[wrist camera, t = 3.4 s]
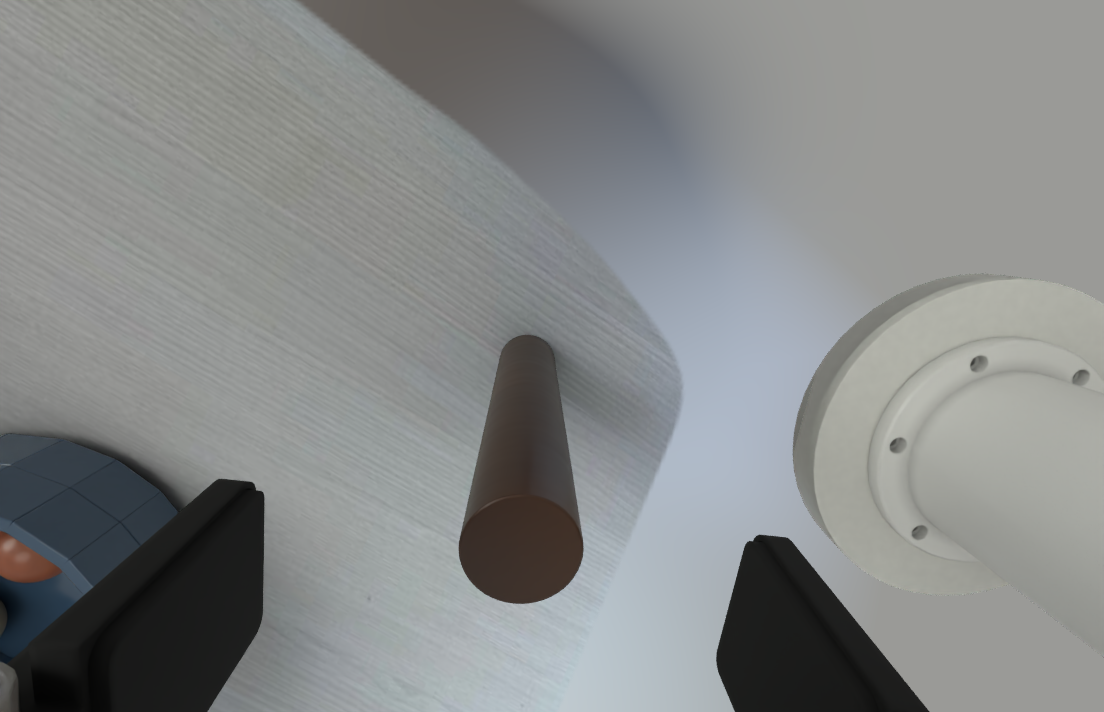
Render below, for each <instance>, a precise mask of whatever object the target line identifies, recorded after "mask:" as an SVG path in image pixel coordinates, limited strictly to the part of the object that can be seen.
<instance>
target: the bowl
mask: <svg viewBox="0 0 1104 712" xmlns="http://www.w3.org/2000/svg"><path fill="white" fill-rule="evenodd" d="M177 514H178V511H177V510H176V509H175V508H174V506H173V505H172V504H171V503H170V502H169V500H168V499H167V498H166V497H165V495H164V494H163V493H162V492H160V490H159V489H157V488H156V487H155V486H153V485H152V484H150V483H149V482H148V481H146V480H145V479H144V478H142V477H141V476H139V475H138V474H137V473H135V472H134V471H132V470H131V469H130V468H128V467H127V466H125V465H124V464H123V463H121V462H120V461H118V460H116V459H114V458H112V457H109V456H106V455H104V454H101V453H99V452H96V451H94V450H91V449H88V448H86V447H83V446H81V445H78V444H76V443H73V442H70V441H68V440H64V439H56V438H48V437H39V436H30V435H21V434H12V433H11V434H3V435H0V531H2V532H5V533H7V534H8V535H10V536H12V537H13V538H15V539H16V540H18V541H19V542H21V543H22V544H24V545H25V546H27V547H28V548H30V549H31V550H33V551H34V552H36V553H37V554H39V555H40V556H42V557H44V558H45V559H47V560H48V561H50V562H51V563H53V564H54V565H56V566H57V567H59V568H60V569H61V571H62V573H60V574H59V575H57V576H55V577H52V578H50V579H47V580H44V581H40V582H33V583H20V582H14V581H11V580H8V579H6V578H4V577H2V576H0V600H1V601H2V603H3V604H4V605H5V608H6V610H7V624H6V627H5V629H4V632H3V633H2V635H1V637H0V662H3V663H5V664H7V663H8V662H10V661H11V660H12V659H13V658H14V657H15V656H16V655H18V654H19V653H20V652H21V651H22V650H23V649H25V648H26V647H27V646H28V643H29V642H31V641H32V640H33V639H34V638H35V637H36V636H38V635H39V634H40V633H41V632H42V631H43V630H44V629H46V628H47V627H48V626H49V625H50V624H51V623H52V622H54V621H55V620H56V619H57V618H58V617H59V616H61V615H62V614H63V613H64V612H65V611H66V610H67V609H69V608H70V607H71V606H72V605H73V604H74V603H76V602H77V601H78V600H79V599H80V598H81V597H82V596H84V595H85V594H86V593H87V592H88V591H89V590H90V589H92V588H93V587H94V586H95V585H96V584H97V583H99V582H100V581H101V580H102V579H103V578H104V577H105V576H107V575H108V574H109V573H110V572H111V571H112V570H113V569H115V568H116V567H117V566H118V565H119V564H120V563H122V562H123V561H124V560H125V559H126V558H127V557H128V556H130V555H131V554H132V553H133V552H134V551H135V550H136V549H138V548H139V547H140V546H141V545H142V544H143V543H145V542H146V541H147V540H148V539H149V538H150V537H151V536H153V535H154V534H155V533H156V532H157V531H158V530H159V529H161V528H162V527H163V526H164V525H165V524H166V523H168V522H169V521H170V520H171V519H172V518H173V517H174V516H176V515H177Z"/></svg>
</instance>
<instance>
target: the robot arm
mask: <svg viewBox="0 0 1104 712" xmlns="http://www.w3.org/2000/svg"><path fill="white" fill-rule="evenodd" d="M868 473H869V485H870V488H871V492H872V496H873V500H874V502H875V504H876V506H877V508H878V510H879V511H880V513H881V515H882V517H883V518H884V519H885V520H886V521H887V523H888V524H889V525H890V526H891V527H892V528H893V529H894V530H895V531H896V532H897V533H898V534H899V535H900V536H901V537H903V538H904V539H905V540H906V541H907V542H908V543H910V544H911V545H913V546H915V547H916V548H918V549H920V550H922V551H924V552H925V553H927V554H930V555H933V556H936V557H939V558H943V559H946V560H953V561H962V562H976V561H980V562H982V563H983V564H984V565H985V566H987V567H988V568H989V569H991V570H992V571H993V572H994V573H996V574H997V575H998V576H1000V577H1001V578H1002V579H1003V580H1005V581H1006V582H1007V583H1009V584H1010V585H1011V586H1012V587H1014V588H1015V589H1016V590H1018V591H1019V592H1020V593H1021V594H1023V595H1024V596H1025V597H1027V598H1028V599H1029V600H1030V601H1032V602H1033V603H1034V604H1036V605H1037V606H1038V607H1039V608H1041V609H1042V610H1043V611H1045V612H1046V613H1047V614H1048V615H1050V616H1051V617H1052V618H1054V619H1055V620H1056V621H1057V622H1059V623H1060V624H1061V625H1063V626H1064V627H1065V628H1066V629H1068V630H1069V631H1070V632H1072V633H1073V634H1074V635H1075V636H1077V637H1078V638H1079V639H1081V640H1082V641H1083V642H1084V643H1086V644H1087V645H1088V646H1090V647H1091V648H1092V649H1094V650H1095V651H1096V652H1097V653H1099V654H1100V655H1101V656H1102V657H1104V381H1103V379H1102V378H1101V377H1100V375H1099V374H1098V372H1097V371H1096V369H1095V368H1093V367H1092V366H1091V365H1090V364H1089V363H1088V362H1086V361H1085V360H1084V359H1083V358H1082V357H1081V356H1079V355H1077V354H1075V353H1073V352H1071V351H1069V350H1067V349H1065V348H1063V347H1062V346H1058V345H1054V344H1051V343H1047V342H1044V341H1040V340H1036V339H1029V338H1022V337H1015V336H1013V337H995V338H988V339H984V340H980V341H976V342H971V343H968V344H965V345H963V346H961V347H958V348H956V349H954V350H951V351H949V352H946V353H945V354H943V355H941V356H940V357H938V358H937V359H935V360H933V361H932V362H930V363H929V364H927V365H926V366H924V367H923V368H922V369H921V370H920V371H918V372H917V373H916V374H915V375H914V376H913V377H912V378H910V379H909V380H908V381H907V382H906V383H905V384H904V385H903V387H902V388H901V389H900V390H899V391H898V393H897V394H896V395H895V396H894V398H893V399H892V400H891V401H890V403H889V405H888V406H887V408H886V410H885V412H884V413H883V415H882V417H881V418H880V420H879V422H878V425H877V428H876V431H875V433H874V436H873V439H872V442H871V447H870V454H869V460H868ZM263 565H264V494H263V492H262V491H256V488H255V485H254V484H253V483H252V482H247V481H237V480H227V479H218V480H216V481H215V482H214V483H212V484H211V485H210V486H209V487H208V488H207V489H206V490H204V491H203V492H202V493H201V494H200V495H199V496H197V497H196V498H195V499H194V500H193V501H192V502H191V503H189V504H188V505H187V506H186V507H185V508H184V509H182V510H181V511H180V512H179V513H178V514H177V515H176V516H174V517H173V518H172V519H171V520H170V521H169V522H168V523H166V524H165V525H164V526H163V527H162V528H161V529H159V530H158V531H157V532H156V533H155V534H154V535H153V536H151V537H150V538H149V539H148V540H147V541H146V542H145V543H143V544H142V545H141V546H140V547H139V548H138V549H136V550H135V551H134V552H133V553H132V554H131V555H130V556H128V557H127V558H126V559H125V560H124V561H123V562H122V563H120V564H119V565H118V566H117V567H116V568H115V569H113V570H112V571H111V572H110V573H109V574H108V575H107V576H105V577H104V578H103V579H102V580H101V581H100V582H99V583H97V584H96V585H95V586H94V587H93V588H92V589H90V590H89V591H88V592H87V593H86V594H85V595H84V596H82V597H81V598H80V599H79V600H78V601H77V602H76V603H74V604H73V605H72V606H71V607H70V608H69V609H67V610H66V611H65V612H64V613H63V614H62V615H61V616H59V617H58V618H57V619H56V620H55V621H54V622H52V623H51V624H50V625H49V626H48V627H47V628H46V629H44V630H43V631H42V632H41V633H40V634H39V635H38V636H36V637H35V638H34V639H33V640H32V641H31V642H29V643H28V646H27V647H26V648H25V649H23V650H22V651H21V652H20V653H19V654H18V655H16V656H15V657H14V658H13V659H12V660H11V661H10V662H8V663H7V664H5V663H3V662H0V712H207V711H208V710H209V708H210V707H211V705H212V703H213V702H214V700H215V699H216V697H217V695H218V694H219V692H220V691H221V689H222V688H223V686H224V684H225V683H226V681H227V680H228V678H229V677H230V675H231V673H232V672H233V670H234V669H235V667H236V666H237V664H238V662H239V661H240V659H241V658H242V656H243V655H244V653H245V651H246V650H247V648H248V647H249V645H250V644H251V642H252V640H253V639H254V637H255V636H256V634H257V632H258V629H259V627H260V624H261V620H262V615H263ZM716 661H717V668H718V672H719V675H720V677H721V679H722V682H723V684H724V687H725V689H726V691H727V694H728V696H729V698H730V701H731V703H732V705H733V708H734V710H735V712H929V711H928V710H927V708H926V707H925V706H924V704H923V703H922V702H921V701H920V700H919V698H918V697H917V696H916V695H915V693H914V692H913V691H912V690H911V689H910V687H909V686H908V685H907V683H906V682H905V681H904V680H903V678H902V677H901V676H900V675H899V674H898V672H897V671H896V670H895V669H894V668H893V666H892V665H891V664H890V662H889V661H888V660H887V659H886V657H885V656H884V655H883V654H882V653H881V651H880V650H879V649H878V648H877V646H876V645H875V644H874V643H873V641H872V640H871V639H870V638H869V637H868V635H867V634H866V633H865V631H864V630H863V629H862V628H861V627H860V625H859V624H858V623H857V622H856V621H855V619H854V618H853V617H852V615H851V614H850V613H849V612H848V610H847V609H846V608H845V607H844V606H843V604H842V603H841V602H840V601H839V599H838V598H837V597H836V596H835V594H834V593H833V592H832V591H831V589H830V588H829V587H828V586H827V584H826V583H825V582H824V581H823V580H822V578H821V577H820V576H819V575H818V574H817V572H816V571H815V570H814V568H813V567H812V566H811V565H810V564H809V562H808V561H807V560H806V559H805V557H804V556H803V555H802V554H801V553H800V551H799V550H798V549H797V547H796V546H795V545H794V544H793V542H792V541H791V540H789V539H788V538H785V537H776V536H767V535H758V536H756V537H755V538H754V540H753V541H749V542H747V543H746V545H745V548H744V551H743V555H742V559H741V562H740V566H739V570H738V574H737V577H736V581H735V585H734V589H733V593H732V597H731V600H730V604H729V608H728V612H727V615H726V619H725V623H724V627H723V630H722V634H721V638H720V642H719V646H718V649H717V657H716Z"/></svg>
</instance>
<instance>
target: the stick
mask: <svg viewBox="0 0 1104 712" xmlns="http://www.w3.org/2000/svg"><path fill="white" fill-rule="evenodd" d="M582 557H583V538H582V531H581V525H580V519H579V512H578V506H577V499H576V493H575V486H574V480H573V474H572V467H571V461H570V454H569V448H568V442H567V435H566V429H565V422H564V416H563V410H562V403H561V397H560V390H559V384H558V378H557V371H556V365H555V358H554V354H553V351H552V349H551V348H550V346H549V345H548V344H547V343H546V342H545V341H544V340H542V339H541V338H539V337H536V336H532V335H522V336H518V337H516V338H514V339H512V340H510V341H509V342H508V343H507V344H506V345H505V347H504V348H503V350H502V352H501V355H500V359H499V364H498V369H497V373H496V378H495V382H494V387H493V391H492V396H491V400H490V405H489V409H488V414H487V418H486V423H485V427H484V432H483V436H482V441H481V445H480V450H479V454H478V459H477V463H476V468H475V472H474V477H473V481H472V486H471V490H470V495H469V499H468V504H467V508H466V513H465V517H464V522H463V527H462V531H461V536H460V541H459V558H460V562H461V565H462V567H463V570H464V572H465V574H466V575H467V577H468V579H469V580H470V581H471V582H472V583H473V585H475V586H476V587H477V588H478V589H479V590H480V591H482V592H483V593H484V594H486V595H488V596H490V597H492V598H494V599H497V600H500V601H503V602H508V603H516V604H525V603H533V602H538V601H541V600H544V599H547V598H549V597H551V596H553V595H555V594H557V593H558V592H560V591H561V590H562V589H564V588H565V587H566V586H567V585H568V584H569V583H570V581H571V580H572V579H573V578H574V576H575V574H576V573H577V571H578V569H579V567H580V564H581V561H582Z"/></svg>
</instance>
